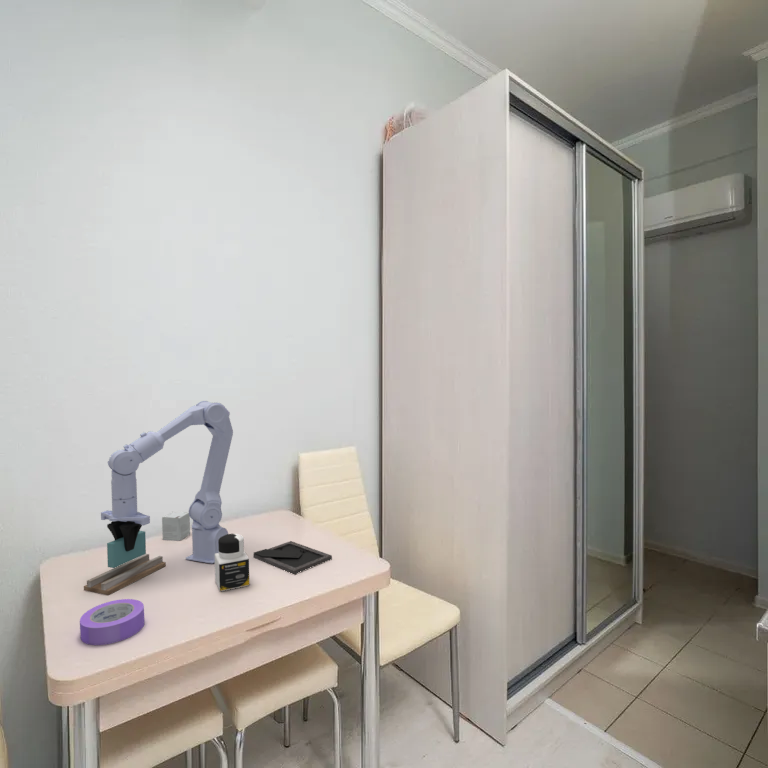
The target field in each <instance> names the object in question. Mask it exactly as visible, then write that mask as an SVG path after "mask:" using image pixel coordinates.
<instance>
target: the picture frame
mask: <svg viewBox="0 0 768 768" xmlns="http://www.w3.org/2000/svg"><path fill="white" fill-rule="evenodd" d="M252 556H253V559H256V560H258V561H260V562H263V563H266V564H267V565H270V566H273V567H274V566H275V568H277V569H280V570H282V571H284V570H285V571H284V572H286V571H287V572H286V573H289V572H290V573H289V574H291V573H292V574H291V575H293V574H295V575H297V574H296V573H298V572H300V571H302V572H304V571H303V570H305V569H307V568H310V567H312V566H314V567H316V566H315V565H317V564H319V565H321V564H323V563H322V562H324V563H326V562H328V561H327V560H329V561H331V560H333V559H332V558H333V556H332V554H328V553H326V552H323V551H320V550H317V549H315V548H311V547H309V546H306V545H304V544H300V543H297V542H295V541H291V540H290V541H287V542H283V543H281V544H279V545H275V546H273V547H270V548H264V549H261V550H258V551H255V552H253V555H252ZM330 559H331V560H330ZM325 561H326V562H325ZM320 563H321V564H320ZM317 566H318V565H317ZM312 568H313V567H312ZM310 569H311V568H310ZM307 570H308V569H307ZM305 571H306V570H305ZM300 573H301V572H300ZM298 574H299V573H298Z"/></svg>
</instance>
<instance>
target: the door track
mask: <svg viewBox="0 0 768 768" xmlns="http://www.w3.org/2000/svg"><path fill="white" fill-rule="evenodd" d="M166 565H167V562H165V561H164V560H163V556H161V555H158V556H156V557H154V558H151V559H150V553H146V554H144V555H142V556H140V557H137V558H135V559H133V560H131V561H129V562H126V563H124V564H122V565H120V566H117V567H115V568H110V569H109V570H107V571H105V572H103V573H101V574H98V575H96V576H94V577H92V578H89V579H87V580H86V584H85V585H84V586H83V591H85V592H92V593H95V594H101V595H106V596H110V595H112V594H114V593H115V592H118V591H120V590H121V589H124V588H126V587H128V586H130V585H131V584H133V583H135V582H137V581H139V580H142V579H143V578H145V577H147V576H149V575H151V574H152V573H154V572H156V571H159V570H161V569H162V568H165V567H166Z"/></svg>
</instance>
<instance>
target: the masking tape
mask: <svg viewBox="0 0 768 768" xmlns="http://www.w3.org/2000/svg"><path fill="white" fill-rule="evenodd" d="M145 623H146V621H145V605H144V603H143V601H141V600H137V599H133V598H124V599H123V598H122V599H115V600H111V601H107V602H104V603H101V604H98V605H95V606H93V607H92V608H90V609H88V610H87V611H86V612H84V613H83V614H82V615H81V617H80V619H79V632H80V633H79V634H80V640H81V642H82V643H83V644H87V645H91V646H104V645H105V646H106V645H110V644H115V643H118V642H121V641H124V640H127V639H128V638H131V637H133V636H134V635H137V633H139V632H140V631H141V630H142V629H143V628H144V626H145Z"/></svg>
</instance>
